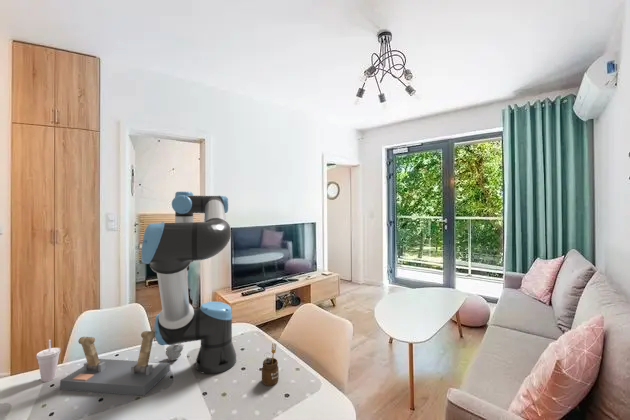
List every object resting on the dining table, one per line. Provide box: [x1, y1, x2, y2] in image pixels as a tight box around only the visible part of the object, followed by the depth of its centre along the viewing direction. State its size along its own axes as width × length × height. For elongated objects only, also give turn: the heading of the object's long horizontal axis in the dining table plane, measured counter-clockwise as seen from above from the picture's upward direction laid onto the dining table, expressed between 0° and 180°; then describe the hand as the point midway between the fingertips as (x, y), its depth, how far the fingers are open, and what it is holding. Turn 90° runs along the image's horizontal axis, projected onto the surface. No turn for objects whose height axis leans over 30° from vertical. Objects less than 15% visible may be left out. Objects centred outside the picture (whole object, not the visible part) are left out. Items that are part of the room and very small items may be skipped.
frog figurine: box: [165, 343, 184, 361], centre depth 115 cm, size 6×7×7 cm
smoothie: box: [35, 339, 61, 383], centre depth 102 cm, size 6×6×14 cm
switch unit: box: [59, 358, 171, 396], centre depth 102 cm, size 30×14×6 cm, turn 85°
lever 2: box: [134, 330, 156, 373], centre depth 103 cm, size 5×2×13 cm, turn 85°
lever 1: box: [77, 336, 102, 370], centre depth 101 cm, size 5×2×13 cm, turn 84°
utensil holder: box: [261, 342, 280, 386], centre depth 101 cm, size 6×6×12 cm
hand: (184, 277), depth 129 cm, fingers closed
